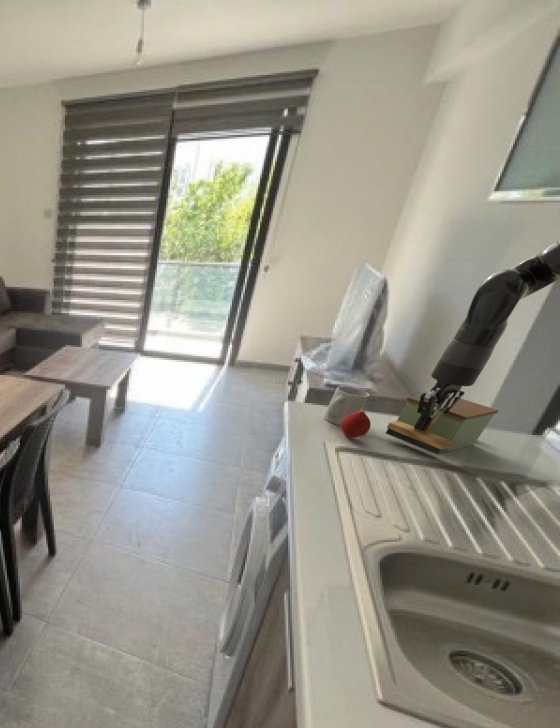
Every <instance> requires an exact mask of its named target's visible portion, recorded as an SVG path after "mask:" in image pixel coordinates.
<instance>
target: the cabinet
mask: <svg viewBox="0 0 560 728" xmlns="http://www.w3.org/2000/svg"><path fill="white" fill-rule="evenodd" d="M421 395H422V394H418V395H413V396H408V397H406V399H405V400H406V403H405V405H404V407H403V409H402V410H401V413H400V414H399V415H398V417H397V419H396V421H401V422H404V423H406V424H409V425H411V426H415V424H416V423H417V421H418V419H419V418H420V416H421V414H420V413H417V410H418V406H419V402H420V397H421ZM446 404H447V403H446ZM498 413H499V409H495V408H492V407H489V406H486V405H483V404H480V403H477V402H473V401H470V400H467V399H464V398H462V397H461V398H460V399H459V400H458V401H457V403H456V404H455V405H454V406H453V407H452V408H451V409H450V410H449V412H448V413H444V414H443V415H442V416H441V417H440V416H439V419H438V420H437V422H436V424H435V425H434V427H433V429H432V430H431V431H430V433H432V434H435V435H437V436H440V437H443V438H445V439H448V440H450V441H453V442H454V444H453V445H452V447H451V448H448V449H447V451H448V452H451V451H456V450H459V449H463V448H468V447H472V446H474V445H476V443H477V441H478V439H479V438H480V436H481V435H482V433H483V432H484V430H485V429H486V427H487V426H488V424H489V423H490V421H491V419H492V418H493V417H494V415H496V414H498ZM447 451H446V452H445V453H448V452H447Z"/></svg>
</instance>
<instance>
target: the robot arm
mask: <svg viewBox="0 0 560 728" xmlns="http://www.w3.org/2000/svg"><path fill="white" fill-rule="evenodd" d="M559 280H560V239H559V240H558V241H555V242H553V243H551V244H549V245H548V246H547V247H545V248H543V249H542V250H541V251H540V252H539V253H537V254H535V255H533V256H530V257H529V258H527V259H526V260H523V261H521V262H519V263H517V264H516V265H513V266H511V267H509V268H507V269H503V270H499V271H496V272H494V273H491V274H490V275H489V276H487V277H486V278H485V279H484V280H483V281H482V282H481V283H480V285H479V286H478V288H477V290H476V291H475V294H474V295H473V297H472V300H471V303H470V305H469V306H468V307H469V308H468V310H467V312H466V316H465V317H464V320H463V321H462V323H461V324H460V326H459V327H458V329H457V330H456V333H455V334H454V335H453V338H452V339H451V341H450V342H449V344H448V345H447V346H446V348H445V349H444V351H443V352H442V355H441V356H440V358H439V360H438V361H437V363H436V365H435V367H434V369H433V370H432V372H431V374H430V376H431V378H432V379H433V380H435V381H436V383H434V385H433V386H432V387H431V388H430V389H429V391H428V393H427V392H422V394H420V395H421V397H420V402H419V406H418V410H417V413H420V414H421V416H420V418H419V419H418V421H417V423H416V424H415V426H414V428H415V429H417V430H419V431H426V429H427V428H428V426H429V424H430V423H431V421H432V419H433V417H435V415H436V413H437V412H438V410H440V411H442V413H441V415H440V417H441V416H442V415H443V414H444V413H448V412H449V410H450V409H451V408H452V407H453V406H454V405H455V404H456V403H457V401H458V400H459V399H460V398H461V399H462V397H463V396H464V395H465V391H463V390H462V387H472V386H473V385H474V384H475V383H476V381H477V380H478V378H479V377H480V375H481V373H482V372H483V370H484V368H485V367H486V365H487V363H488V361H489V360H490V359H491V357H492V355H493V352H494V350H495V348H496V346H497V344H498V343H499V341H500V339H502V336H503V335H504V333H505V331H506V329H507V327H508V325H509V324H508V323H509V322H508V320H509V318H510V317H511V315H512V313H513V311H514V309H515V308H516V306H517V305H518V303H519V302H520V300H523V299H525V298H527V297H529V296H531V295H533V294H535V293H536V292H539V291H541V290H542V289H544V288H546V287H548V286H550V285H552V284H554V283H556V282H557V281H559ZM446 403H447V404H446ZM427 409H428V410H427ZM438 419H439V418H438ZM436 422H437V421H436ZM435 424H436V423H435ZM433 427H434V426H433ZM432 429H433V428H432Z"/></svg>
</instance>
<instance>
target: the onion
mask: <svg viewBox="0 0 560 728" xmlns="http://www.w3.org/2000/svg"><path fill="white" fill-rule="evenodd" d="M371 425H372V424H371V419H370V417H369V416H368V415H367V414H366V412H365V409H360V410H359V411H358V412H356V413H352V414H350V415H348V416H346V417H345V418H344V419H343V420H342V422H341V425H340V429H341V431H342V432H343V434H344V436H345V437H346V438H347V439H354V438H359V437H362V436H364V435H366V434H367V433H368V432H369V431H370V430H371Z"/></svg>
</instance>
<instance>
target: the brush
mask: <svg viewBox="0 0 560 728" xmlns="http://www.w3.org/2000/svg"><path fill="white" fill-rule="evenodd" d="M427 410H428V409H427ZM441 413H442V411H440V410H438V412H437V413H436V415H435V417H433V419H432V421H431V423H430V424H429V426H428V428H427V429H426V431H419V430H417V429H415V428H414V426H411V425H409V424H406V423H404V422H401V421H397V420H396V421H391V422H390V421H389V422H388V425H387V426H386V429H387V430H386V432H385V434H386V435H388V436H390V437H393V438H396V439H398V440H402V441H403V442H406V443H408V444H411V445H413V446H415V447H417V448H420V449H423V450H425V451H427V452H429V453H432V454H435V455H441V454H444V453H445V454H446V453H447V452H446V451H447V449H448V448H451V447H452V445H453V444H454V442H453V441H450V440H448V439H445V438H443V437H440V436H437V435H435V434H432V433H430V431H431V430H432V428H433V426H434V425H435V423H436V421H437V420H438V418H439V416H440V415H441Z"/></svg>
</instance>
